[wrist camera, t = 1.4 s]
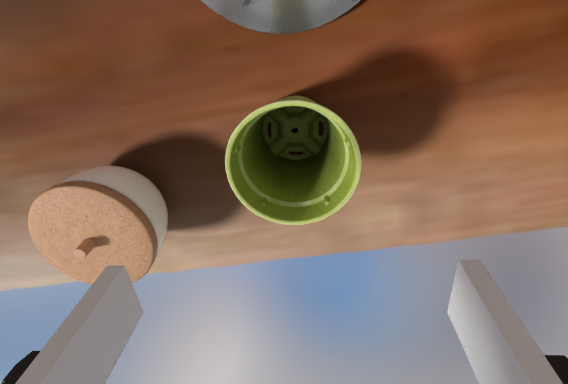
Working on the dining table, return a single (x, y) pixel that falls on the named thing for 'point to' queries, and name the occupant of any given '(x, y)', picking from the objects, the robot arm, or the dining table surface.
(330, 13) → the hub
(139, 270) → the lidded jar
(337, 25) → the dining table surface
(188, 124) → the dining table surface
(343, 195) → the plant pot
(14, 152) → the dining table surface
